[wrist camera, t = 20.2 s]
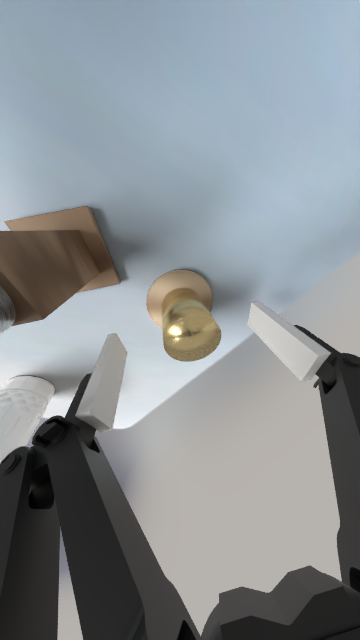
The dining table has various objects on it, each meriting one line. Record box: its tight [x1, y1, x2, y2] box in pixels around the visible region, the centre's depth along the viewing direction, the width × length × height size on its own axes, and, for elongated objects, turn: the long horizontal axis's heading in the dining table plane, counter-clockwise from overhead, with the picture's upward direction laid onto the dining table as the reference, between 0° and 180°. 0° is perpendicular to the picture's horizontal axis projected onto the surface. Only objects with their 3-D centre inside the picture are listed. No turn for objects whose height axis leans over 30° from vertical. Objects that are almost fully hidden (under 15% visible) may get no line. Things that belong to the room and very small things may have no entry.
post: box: [0, 206, 121, 326], centre depth 10 cm, size 7×7×10 cm
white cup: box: [0, 376, 55, 463], centre depth 20 cm, size 8×8×10 cm
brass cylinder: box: [161, 288, 221, 361], centre depth 16 cm, size 6×6×7 cm
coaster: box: [147, 270, 213, 327], centre depth 19 cm, size 9×9×1 cm
